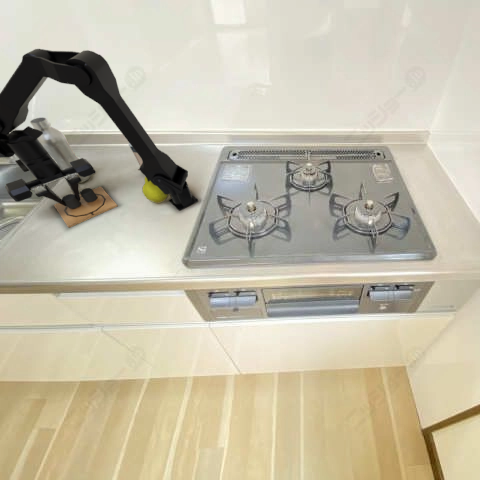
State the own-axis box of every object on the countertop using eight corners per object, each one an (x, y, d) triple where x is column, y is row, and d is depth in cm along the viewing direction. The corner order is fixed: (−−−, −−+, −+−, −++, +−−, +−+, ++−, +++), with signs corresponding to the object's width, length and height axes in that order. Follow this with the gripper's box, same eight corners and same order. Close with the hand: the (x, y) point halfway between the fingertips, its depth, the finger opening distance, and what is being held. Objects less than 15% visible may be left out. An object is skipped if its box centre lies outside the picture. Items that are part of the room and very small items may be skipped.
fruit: (166, 190, 90) (150, 157, 81) (177, 199, 87) (161, 166, 78) (145, 200, 86) (126, 166, 77) (155, 210, 83) (136, 176, 74)
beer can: (155, 176, 94) (139, 144, 86) (141, 176, 94) (124, 143, 86) (161, 168, 98) (146, 136, 89) (147, 168, 98) (131, 136, 89)
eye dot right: (99, 199, 85) (93, 191, 83) (87, 203, 83) (81, 196, 81) (95, 194, 87) (89, 186, 84) (84, 199, 85) (78, 191, 83)
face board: (117, 206, 84) (116, 204, 83) (69, 227, 77) (67, 226, 77) (101, 187, 90) (100, 185, 89) (55, 206, 83) (53, 204, 83)
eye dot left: (82, 205, 83) (76, 197, 80) (70, 210, 81) (63, 202, 79) (79, 200, 84) (72, 192, 82) (66, 205, 82) (60, 197, 80)
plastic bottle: (96, 179, 93) (56, 119, 78) (74, 188, 89) (27, 128, 74) (89, 171, 96) (48, 113, 81) (67, 180, 92) (20, 120, 77)
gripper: (65, 131, 79) (97, 178, 90) (-21, 156, 69) (27, 204, 81) (78, 146, 74) (110, 193, 85) (-12, 175, 64) (37, 223, 76)
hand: (72, 202), depth 82 cm, fingers closed on eye dot left, 3 cm apart
